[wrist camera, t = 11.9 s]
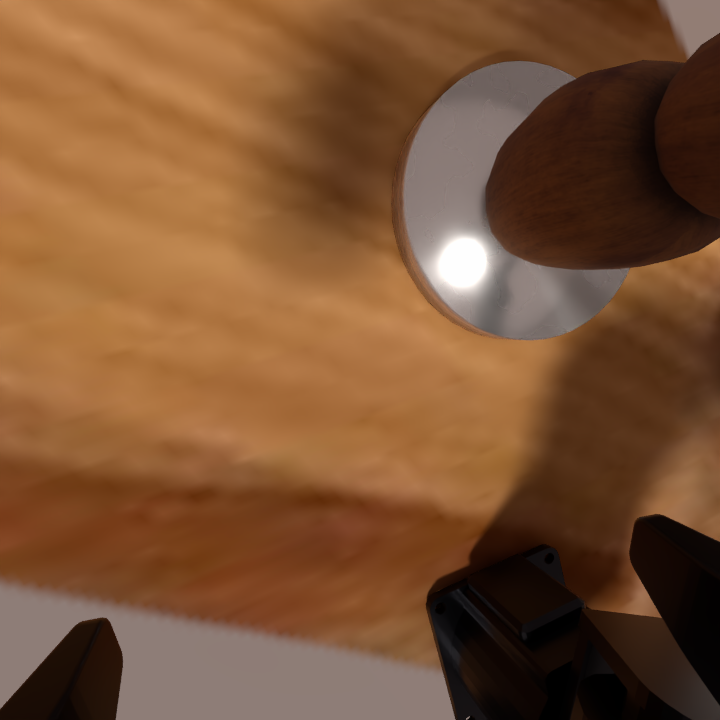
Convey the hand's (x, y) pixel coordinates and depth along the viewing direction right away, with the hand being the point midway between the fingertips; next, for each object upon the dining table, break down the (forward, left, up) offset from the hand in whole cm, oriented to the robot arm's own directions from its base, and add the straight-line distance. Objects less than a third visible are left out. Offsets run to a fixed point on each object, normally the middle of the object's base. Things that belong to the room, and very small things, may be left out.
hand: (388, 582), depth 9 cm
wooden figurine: (+6, -12, -11) cm, 17 cm away
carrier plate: (+6, -12, -12) cm, 18 cm away
